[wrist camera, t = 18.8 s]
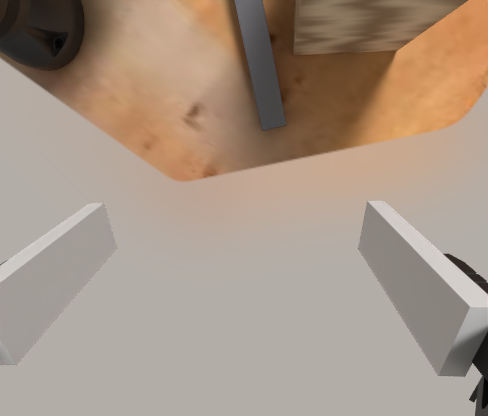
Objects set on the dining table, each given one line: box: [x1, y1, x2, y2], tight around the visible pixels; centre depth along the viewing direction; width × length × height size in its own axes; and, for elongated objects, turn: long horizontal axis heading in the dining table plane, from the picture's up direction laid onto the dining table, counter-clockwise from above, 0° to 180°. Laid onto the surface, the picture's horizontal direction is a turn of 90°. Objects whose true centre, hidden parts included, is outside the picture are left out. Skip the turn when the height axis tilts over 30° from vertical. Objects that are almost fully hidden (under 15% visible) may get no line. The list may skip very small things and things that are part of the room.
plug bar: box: [234, 0, 286, 131], centre depth 36 cm, size 4×24×4 cm, turn 14°
